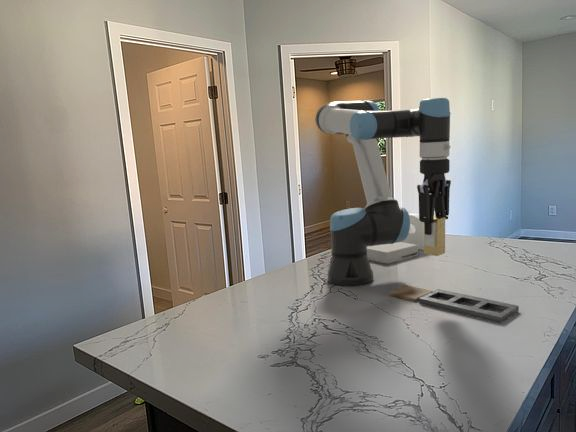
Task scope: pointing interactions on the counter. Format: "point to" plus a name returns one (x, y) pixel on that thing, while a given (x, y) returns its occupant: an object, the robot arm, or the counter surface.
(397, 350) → the counter surface
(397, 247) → the disc drive
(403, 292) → the walnut pad
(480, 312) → the grey flat slotted block
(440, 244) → the square wooden peg
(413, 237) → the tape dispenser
